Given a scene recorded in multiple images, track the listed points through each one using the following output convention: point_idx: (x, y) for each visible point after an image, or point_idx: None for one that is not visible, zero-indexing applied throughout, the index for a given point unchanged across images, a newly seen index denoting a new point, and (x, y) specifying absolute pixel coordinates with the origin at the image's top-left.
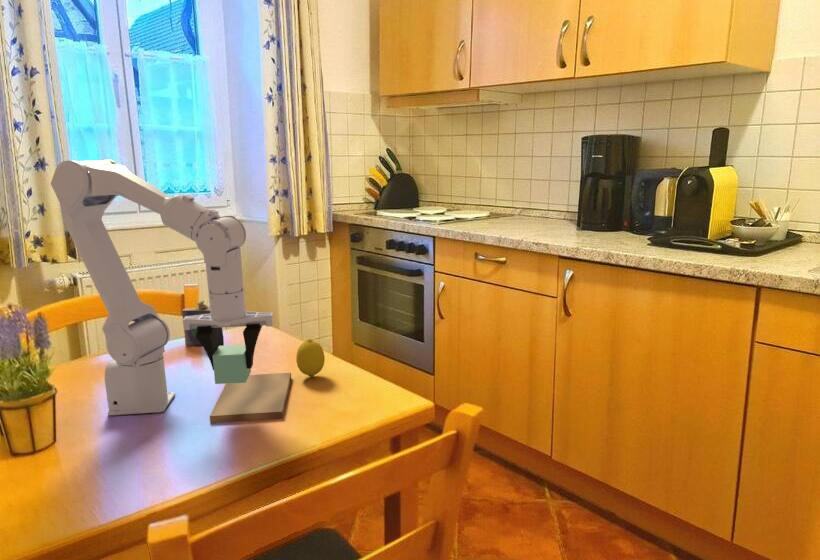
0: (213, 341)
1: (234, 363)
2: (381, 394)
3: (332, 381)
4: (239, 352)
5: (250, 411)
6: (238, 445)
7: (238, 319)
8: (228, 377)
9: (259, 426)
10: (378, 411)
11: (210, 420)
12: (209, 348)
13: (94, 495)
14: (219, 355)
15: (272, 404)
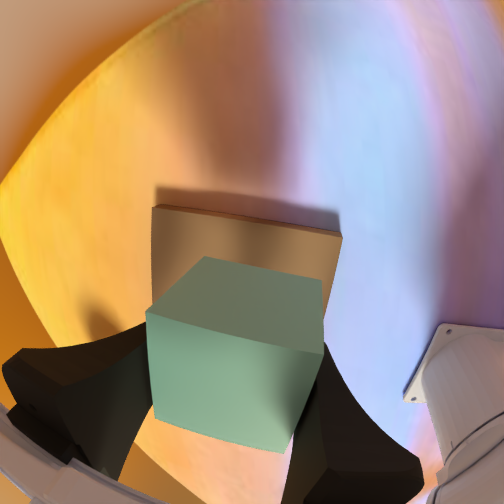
0: (306, 453)
1: (213, 300)
2: (26, 258)
3: None
4: (171, 347)
5: (230, 232)
6: (260, 80)
7: (27, 487)
8: (263, 279)
9: (212, 171)
10: (24, 192)
11: (340, 234)
12: (337, 408)
13: (496, 11)
14: (281, 346)
15: (176, 258)
